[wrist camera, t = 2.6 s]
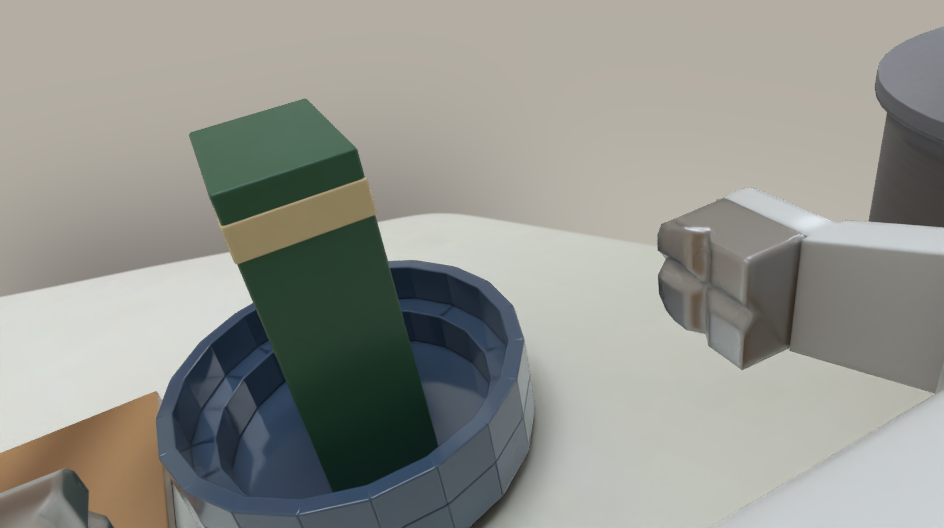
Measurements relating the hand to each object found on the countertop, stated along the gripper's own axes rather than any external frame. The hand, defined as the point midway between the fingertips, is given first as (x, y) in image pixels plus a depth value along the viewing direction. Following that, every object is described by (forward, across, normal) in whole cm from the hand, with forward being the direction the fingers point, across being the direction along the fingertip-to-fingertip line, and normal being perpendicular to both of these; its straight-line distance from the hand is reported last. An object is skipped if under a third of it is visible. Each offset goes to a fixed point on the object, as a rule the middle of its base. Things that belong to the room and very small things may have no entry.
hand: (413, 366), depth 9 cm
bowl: (+13, 0, +13) cm, 19 cm away
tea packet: (+13, 0, +13) cm, 18 cm away
